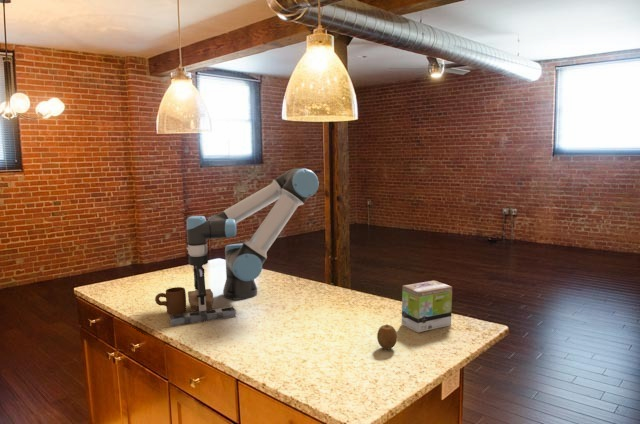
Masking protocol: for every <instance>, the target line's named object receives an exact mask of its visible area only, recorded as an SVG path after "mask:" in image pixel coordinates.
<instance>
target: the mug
mask: <svg viewBox="0 0 640 424" xmlns="http://www.w3.org/2000/svg"><path fill="white" fill-rule="evenodd" d="M160 298H165V300H161V299H160ZM154 300H155V303H156V305H158V306H163V307H166V313H167V314H168V315H169V316H170V315H177V314H184V313H187V295H186V289H185V288H184V287H183V286H182V287H181V286H180V287H179V286H177V287H176V286H175V287H170V288H167V289H166V290H165V293H164V292H160V293H157V294H156V296H155V299H154Z"/></svg>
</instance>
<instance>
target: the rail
mask: <svg viewBox="0 0 640 424" xmlns="http://www.w3.org/2000/svg"><path fill="white" fill-rule="evenodd" d="M236 313H237V312H236V309H235V308H234V306H228V307H221V308H219V307H218V308H215V309H213V308H212V309H206V310H205V311H199V310H198V311H190V312H185V313H183V314H177V315H169V324H170V327H176V326H183V325H189V324H197V323H204V322H210V321H215V320H217V321H218V320H223V319H224V320H225V319H230V318H236V317H237V316H236V315H237V314H236Z"/></svg>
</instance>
